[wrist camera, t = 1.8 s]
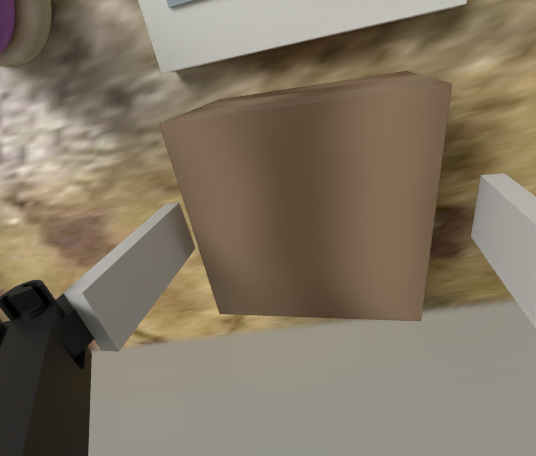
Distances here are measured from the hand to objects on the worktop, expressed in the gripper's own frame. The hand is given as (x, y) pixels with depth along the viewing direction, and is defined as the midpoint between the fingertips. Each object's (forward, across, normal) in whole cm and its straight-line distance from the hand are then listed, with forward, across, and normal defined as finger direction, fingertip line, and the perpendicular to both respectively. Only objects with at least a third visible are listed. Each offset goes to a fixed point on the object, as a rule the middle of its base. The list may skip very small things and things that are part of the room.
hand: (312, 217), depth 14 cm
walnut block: (+6, 0, 0) cm, 6 cm away
